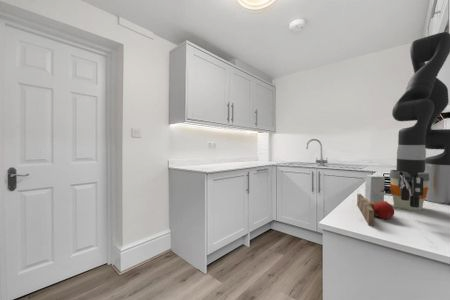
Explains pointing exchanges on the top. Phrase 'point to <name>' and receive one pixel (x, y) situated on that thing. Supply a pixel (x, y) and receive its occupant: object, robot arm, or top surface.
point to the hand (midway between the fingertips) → (409, 203)
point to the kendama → (382, 209)
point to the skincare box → (374, 188)
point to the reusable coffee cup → (406, 204)
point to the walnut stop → (365, 209)
